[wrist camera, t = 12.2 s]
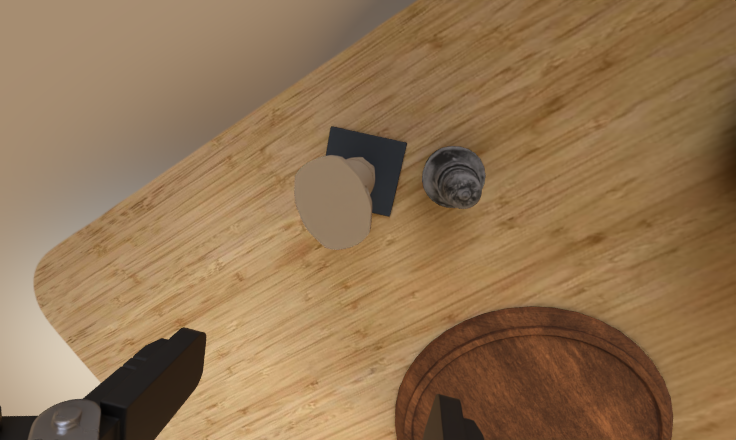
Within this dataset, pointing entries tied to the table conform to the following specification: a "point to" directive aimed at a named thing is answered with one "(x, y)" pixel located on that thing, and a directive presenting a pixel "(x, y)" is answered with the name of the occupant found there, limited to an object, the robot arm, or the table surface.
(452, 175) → the grey stone chess piece
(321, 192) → the handle
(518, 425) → the cutting board
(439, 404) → the robot arm
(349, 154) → the place mat
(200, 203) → the table surface
